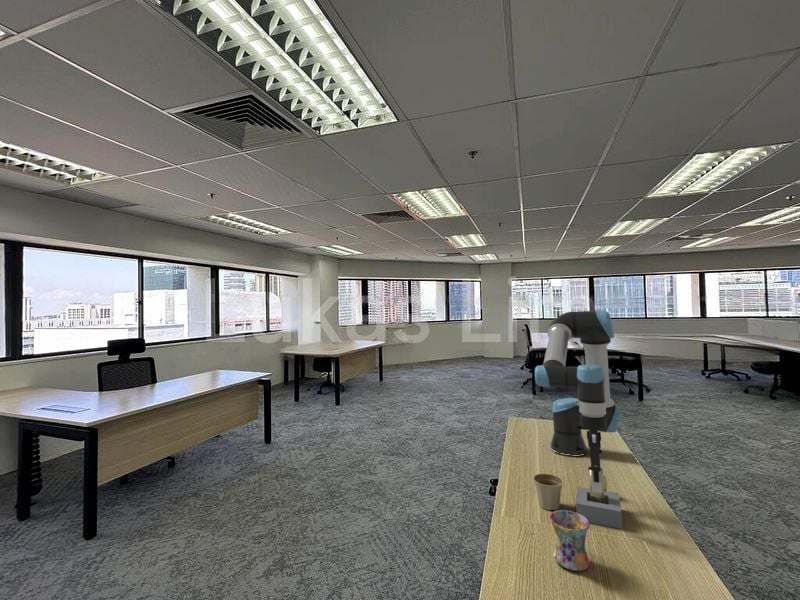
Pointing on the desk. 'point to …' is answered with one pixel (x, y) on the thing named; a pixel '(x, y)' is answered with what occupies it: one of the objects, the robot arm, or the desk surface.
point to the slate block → (599, 508)
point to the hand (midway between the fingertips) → (596, 482)
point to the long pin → (595, 495)
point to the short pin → (605, 483)
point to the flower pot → (548, 490)
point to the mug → (570, 539)
